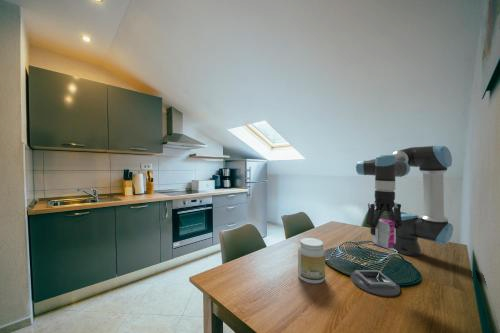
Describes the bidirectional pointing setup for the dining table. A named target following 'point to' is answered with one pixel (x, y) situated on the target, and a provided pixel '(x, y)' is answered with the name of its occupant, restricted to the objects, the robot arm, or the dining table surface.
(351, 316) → the dining table surface
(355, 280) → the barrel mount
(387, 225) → the supplement box
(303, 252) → the supplement tub
